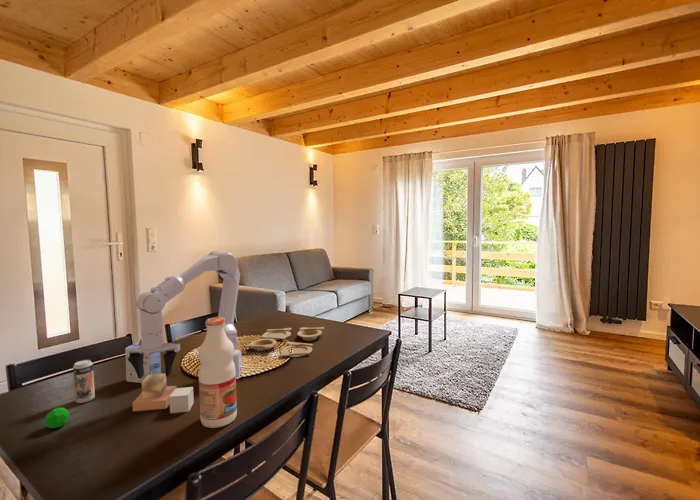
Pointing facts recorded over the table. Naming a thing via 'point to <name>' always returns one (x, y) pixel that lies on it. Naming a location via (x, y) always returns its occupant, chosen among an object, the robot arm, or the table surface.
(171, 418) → the table surface
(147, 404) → the terracotta block
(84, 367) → the beer can
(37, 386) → the table surface
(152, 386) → the maple cube
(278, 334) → the tableware set
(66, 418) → the polyhedron
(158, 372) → the ink cartridge box
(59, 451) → the table surface
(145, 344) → the robot arm
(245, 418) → the table surface
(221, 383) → the fruit juice
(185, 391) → the grey cube
